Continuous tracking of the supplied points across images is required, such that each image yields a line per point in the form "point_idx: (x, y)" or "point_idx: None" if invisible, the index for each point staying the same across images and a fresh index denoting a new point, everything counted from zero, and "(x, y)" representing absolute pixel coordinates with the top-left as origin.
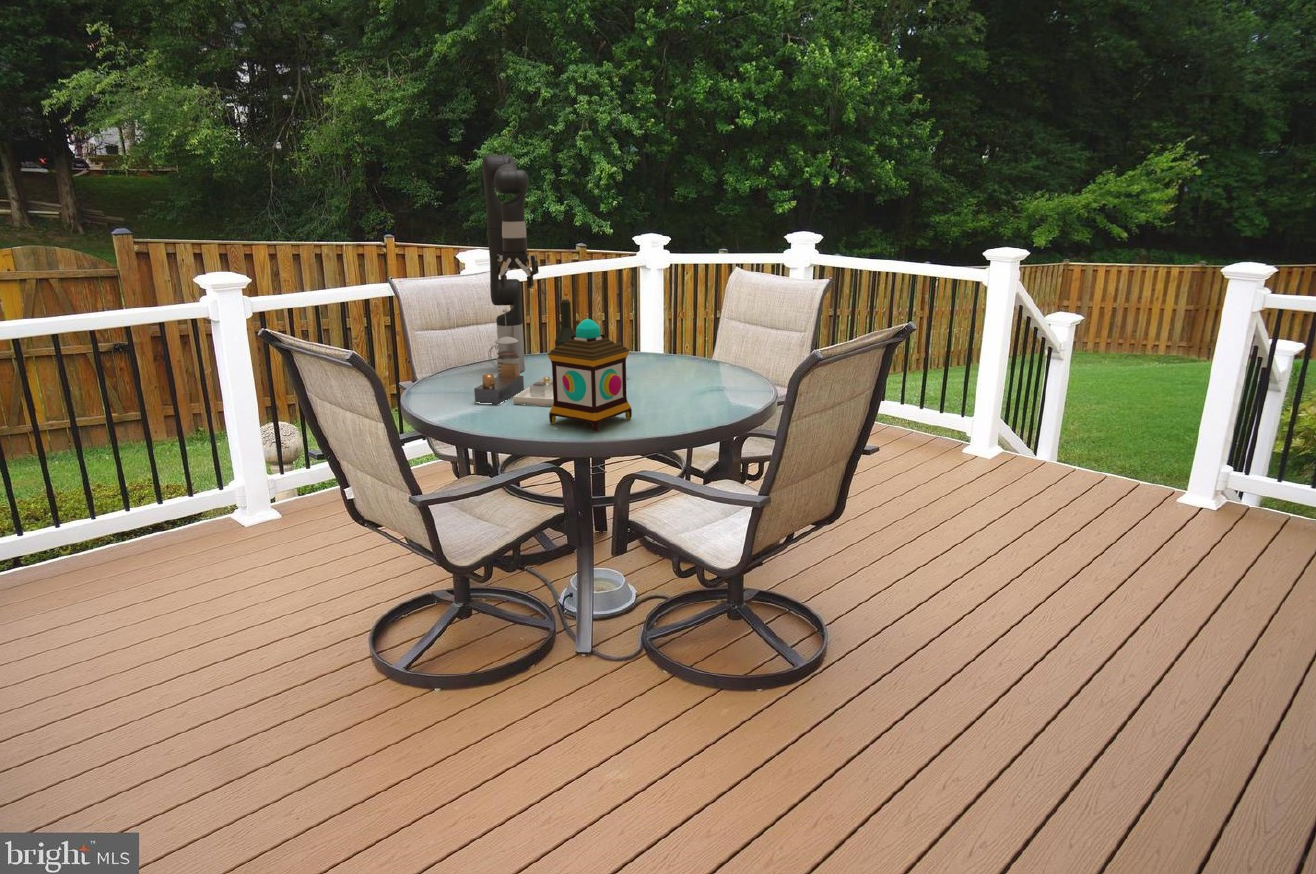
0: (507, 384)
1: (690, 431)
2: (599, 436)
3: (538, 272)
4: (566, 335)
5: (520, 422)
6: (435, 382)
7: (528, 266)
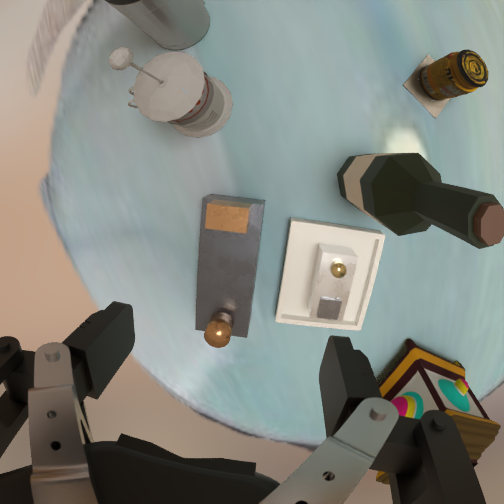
0: (252, 294)
1: (496, 384)
2: None
3: (450, 417)
4: (420, 226)
5: (312, 399)
6: (68, 160)
7: (358, 481)
